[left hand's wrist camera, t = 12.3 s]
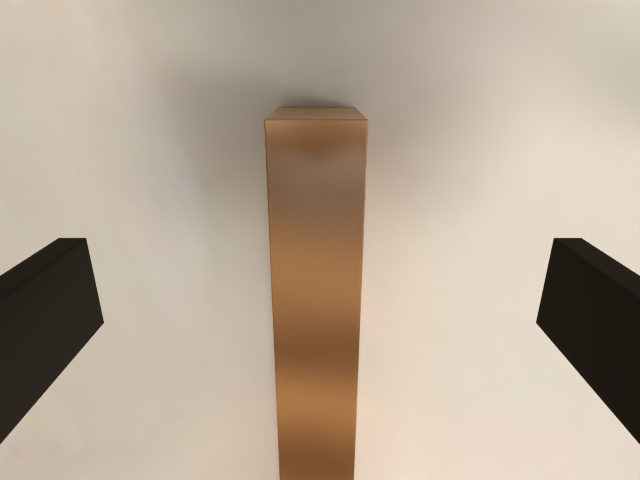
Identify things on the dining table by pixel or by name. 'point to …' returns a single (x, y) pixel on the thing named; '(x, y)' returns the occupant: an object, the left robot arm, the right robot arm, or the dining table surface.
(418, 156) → the dining table surface
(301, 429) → the beam
